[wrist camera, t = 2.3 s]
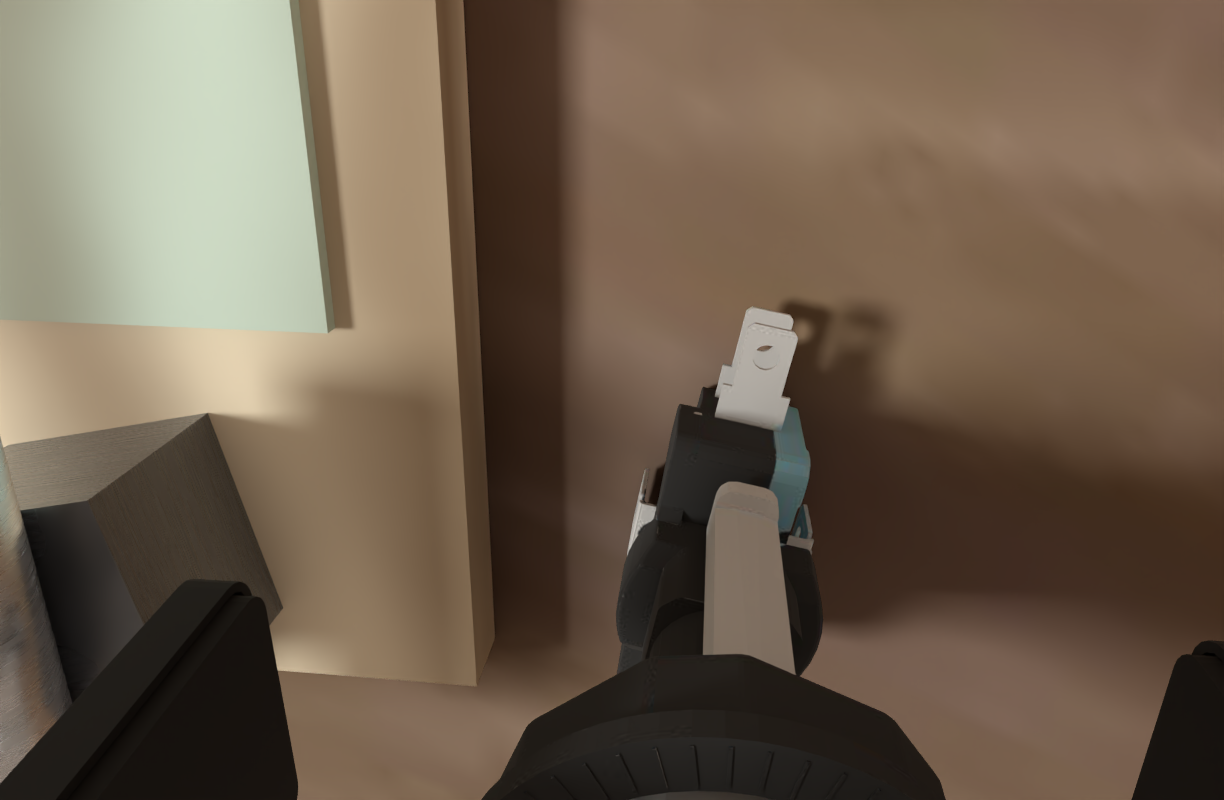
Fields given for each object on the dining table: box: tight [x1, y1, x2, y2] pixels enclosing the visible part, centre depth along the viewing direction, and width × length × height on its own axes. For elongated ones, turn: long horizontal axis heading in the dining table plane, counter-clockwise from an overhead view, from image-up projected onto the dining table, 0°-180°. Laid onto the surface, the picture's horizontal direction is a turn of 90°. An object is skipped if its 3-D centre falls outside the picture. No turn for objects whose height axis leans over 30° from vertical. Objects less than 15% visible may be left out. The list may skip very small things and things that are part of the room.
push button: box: [482, 306, 946, 800], centre depth 12 cm, size 7×5×10 cm
